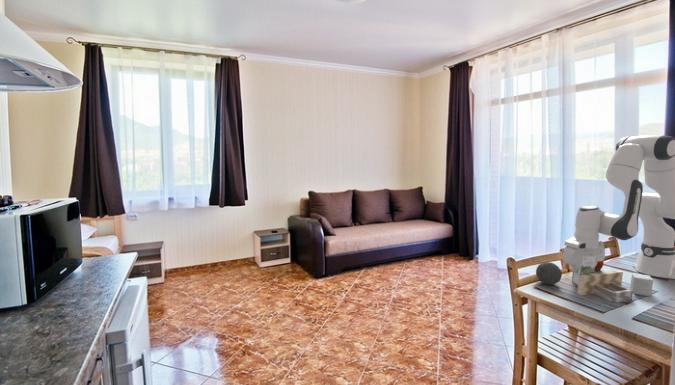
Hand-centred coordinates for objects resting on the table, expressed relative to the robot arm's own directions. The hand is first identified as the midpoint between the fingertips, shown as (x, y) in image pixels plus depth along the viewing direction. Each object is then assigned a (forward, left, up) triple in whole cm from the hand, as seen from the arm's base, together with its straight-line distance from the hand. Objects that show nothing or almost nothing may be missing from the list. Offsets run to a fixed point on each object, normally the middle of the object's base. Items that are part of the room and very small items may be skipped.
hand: (583, 271), depth 155 cm
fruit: (-23, -13, -6) cm, 27 cm away
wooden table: (0, +12, -6) cm, 14 cm away
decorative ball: (+14, -5, -6) cm, 16 cm away
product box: (-16, +14, -6) cm, 22 cm away
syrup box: (0, 0, -6) cm, 6 cm away
